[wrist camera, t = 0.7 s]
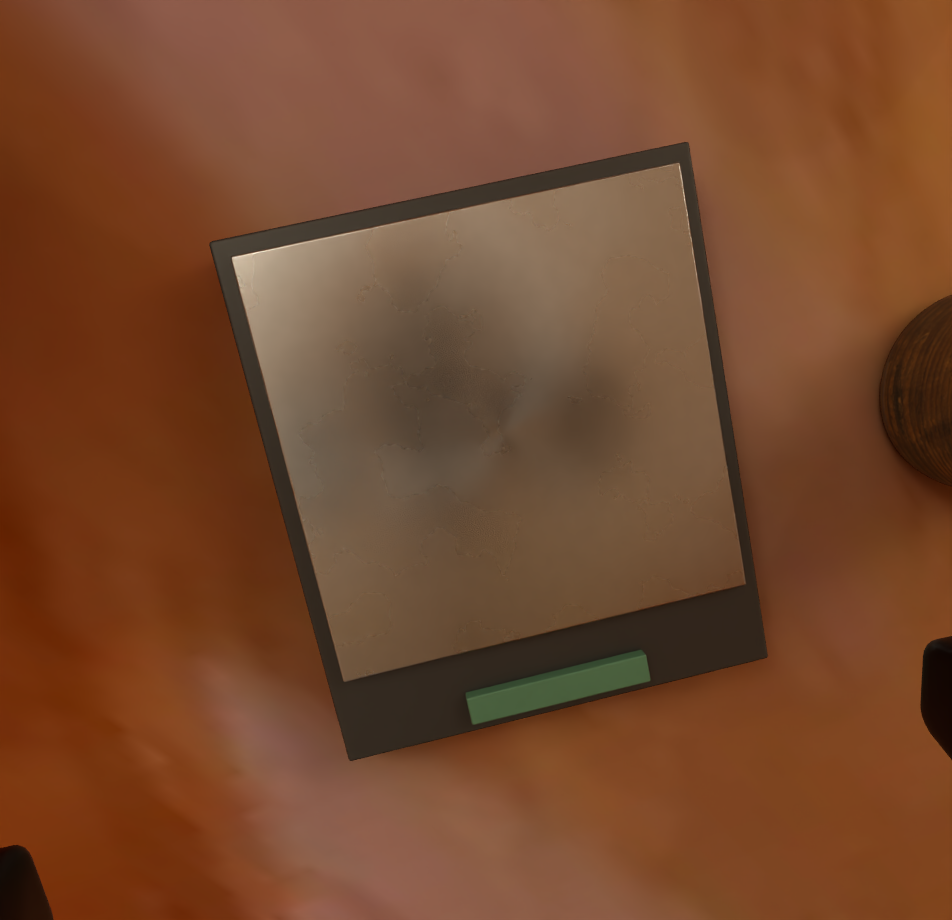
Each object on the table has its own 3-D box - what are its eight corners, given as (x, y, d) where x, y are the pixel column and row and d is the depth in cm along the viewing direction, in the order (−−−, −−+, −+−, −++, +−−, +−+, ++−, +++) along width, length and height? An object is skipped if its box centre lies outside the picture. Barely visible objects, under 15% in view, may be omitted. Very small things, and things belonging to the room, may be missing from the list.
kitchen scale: (738, 630, 23) (778, 666, 20) (354, 724, 22) (347, 773, 20) (662, 159, 20) (697, 135, 18) (227, 251, 20) (202, 238, 17)
